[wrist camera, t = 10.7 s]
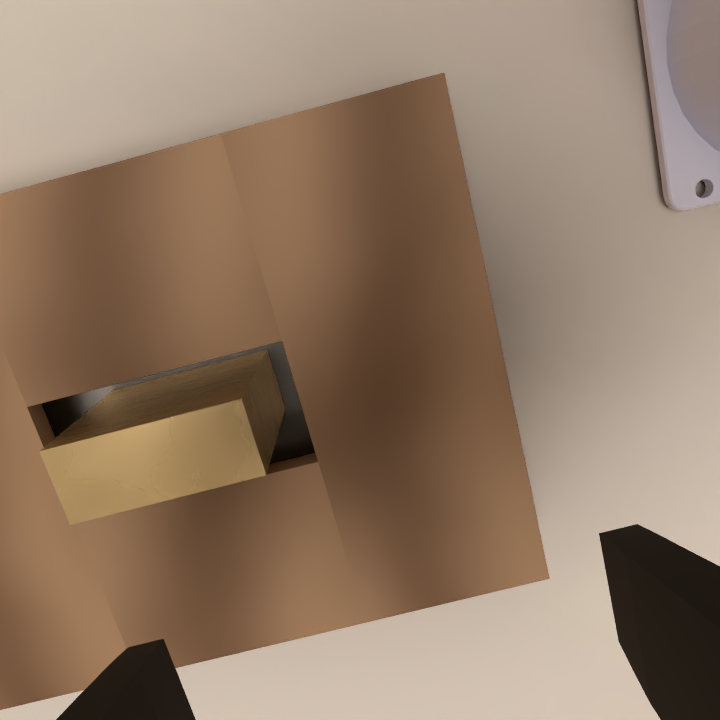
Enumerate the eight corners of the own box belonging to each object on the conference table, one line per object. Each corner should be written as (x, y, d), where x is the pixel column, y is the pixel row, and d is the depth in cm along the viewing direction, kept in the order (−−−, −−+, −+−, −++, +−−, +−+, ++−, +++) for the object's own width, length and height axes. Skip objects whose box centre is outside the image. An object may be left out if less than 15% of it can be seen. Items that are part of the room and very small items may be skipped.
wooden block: (267, 349, 20) (241, 398, 15) (285, 408, 20) (265, 475, 15) (113, 389, 20) (38, 451, 15) (135, 447, 20) (69, 525, 16)
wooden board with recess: (427, 93, 18) (444, 72, 15) (521, 526, 21) (549, 578, 18) (-169, 256, 19) (-264, 266, 16) (14, 649, 22) (-36, 718, 19)
